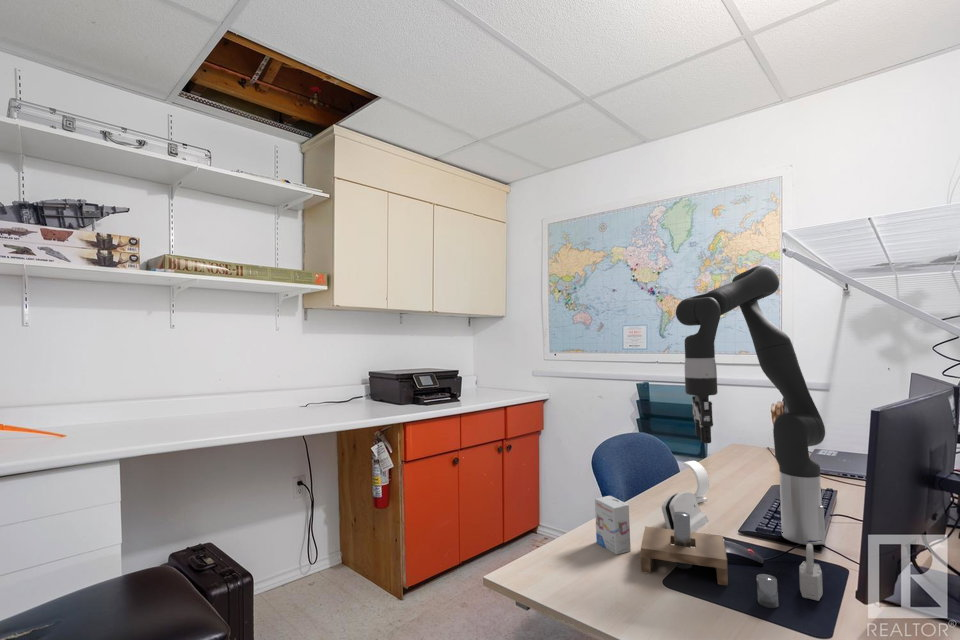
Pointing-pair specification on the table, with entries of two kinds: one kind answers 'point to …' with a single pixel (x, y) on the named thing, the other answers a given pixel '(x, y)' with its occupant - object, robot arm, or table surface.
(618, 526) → the ink box
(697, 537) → the wooden stand with hole
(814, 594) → the padlock
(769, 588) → the short pin
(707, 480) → the headphone stand
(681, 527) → the long pin
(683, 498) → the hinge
